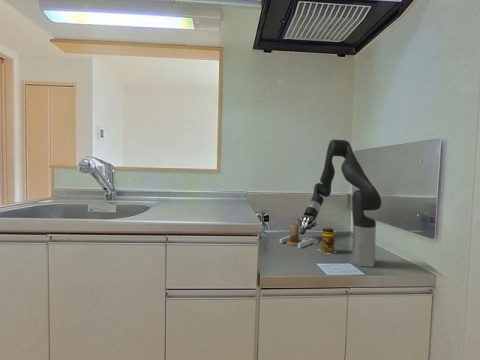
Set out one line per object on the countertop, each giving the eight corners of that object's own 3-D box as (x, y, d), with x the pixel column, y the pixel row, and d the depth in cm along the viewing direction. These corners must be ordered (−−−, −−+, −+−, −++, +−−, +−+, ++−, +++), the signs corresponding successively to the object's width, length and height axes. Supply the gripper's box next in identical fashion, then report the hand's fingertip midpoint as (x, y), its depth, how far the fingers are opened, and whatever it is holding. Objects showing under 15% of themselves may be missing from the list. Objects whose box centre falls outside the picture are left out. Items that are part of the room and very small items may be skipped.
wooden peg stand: (303, 246, 148) (303, 226, 148) (286, 245, 150) (286, 226, 149) (302, 242, 157) (302, 223, 157) (286, 241, 159) (286, 222, 158)
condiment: (328, 254, 135) (328, 230, 134) (315, 250, 142) (315, 227, 142) (338, 252, 139) (338, 229, 138) (325, 248, 146) (325, 225, 145)
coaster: (320, 244, 153) (320, 243, 153) (301, 243, 154) (301, 242, 154) (318, 239, 163) (318, 238, 162) (301, 238, 164) (301, 237, 164)
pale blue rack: (293, 238, 165) (293, 234, 164) (313, 242, 155) (313, 238, 155) (279, 243, 155) (279, 239, 155) (299, 248, 145) (299, 243, 145)
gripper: (300, 205, 169) (289, 228, 161) (320, 207, 159) (309, 232, 152) (305, 212, 173) (294, 235, 165) (324, 215, 164) (313, 239, 156)
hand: (301, 233), depth 158 cm, fingers closed
